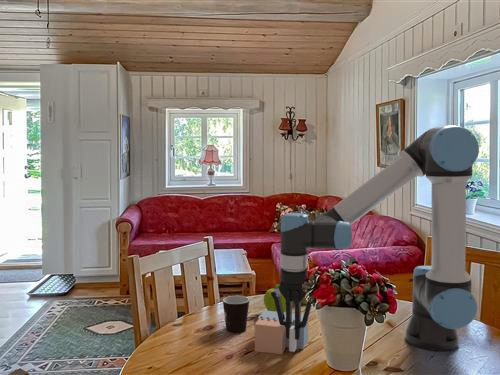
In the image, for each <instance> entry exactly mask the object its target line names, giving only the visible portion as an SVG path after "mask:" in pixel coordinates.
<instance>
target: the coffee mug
mask: <svg viewBox="0 0 500 375" xmlns="http://www.w3.org/2000/svg"><path fill="white" fill-rule="evenodd" d="M222 305H223V313H224V314H223V315H224V321H225V322H224V323H225V329H226V332H227V333H229V334H234V335H235V334H243V333H245V332H246V330H247V323H248V317H249V316H248V315H249V306H250V298H249V297H247V296H244V295H229V296H225V297H223V299H222Z"/></svg>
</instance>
